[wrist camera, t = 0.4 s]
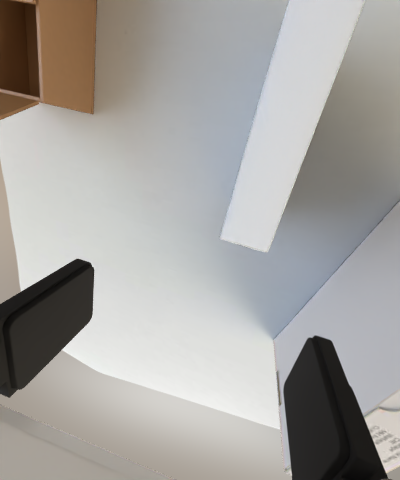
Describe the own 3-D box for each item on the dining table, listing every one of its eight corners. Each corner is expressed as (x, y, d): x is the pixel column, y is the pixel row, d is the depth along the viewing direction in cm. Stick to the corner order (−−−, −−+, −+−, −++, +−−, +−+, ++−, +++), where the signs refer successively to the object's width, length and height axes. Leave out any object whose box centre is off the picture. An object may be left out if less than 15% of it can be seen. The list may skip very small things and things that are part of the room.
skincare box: (263, 215, 37) (267, 256, 22) (229, 205, 37) (211, 239, 23) (322, 51, 29) (388, -53, 14) (277, 42, 29) (296, -65, 15)
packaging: (301, 356, 44) (332, 502, 26) (272, 339, 44) (282, 472, 26) (442, 220, 32) (692, 312, 13) (401, 197, 32) (592, 258, 14)
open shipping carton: (93, 114, 37) (38, 101, 28) (30, 99, 39) (-42, 83, 29) (98, -41, 30) (27, -127, 21) (21, -52, 32) (-78, -136, 23)
